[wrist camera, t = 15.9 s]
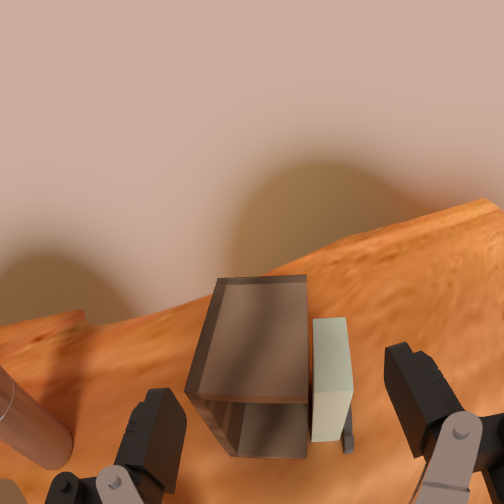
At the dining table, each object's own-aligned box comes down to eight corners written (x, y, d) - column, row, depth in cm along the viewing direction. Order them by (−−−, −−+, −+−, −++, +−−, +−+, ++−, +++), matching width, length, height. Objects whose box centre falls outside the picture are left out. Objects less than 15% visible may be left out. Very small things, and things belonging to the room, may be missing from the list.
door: (311, 442, 32) (314, 392, 24) (312, 384, 39) (312, 318, 31) (339, 440, 31) (353, 390, 23) (336, 383, 39) (345, 317, 31)
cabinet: (230, 455, 32) (183, 390, 22) (244, 369, 43) (217, 278, 33) (351, 456, 29) (382, 390, 19) (346, 367, 40) (359, 271, 30)
